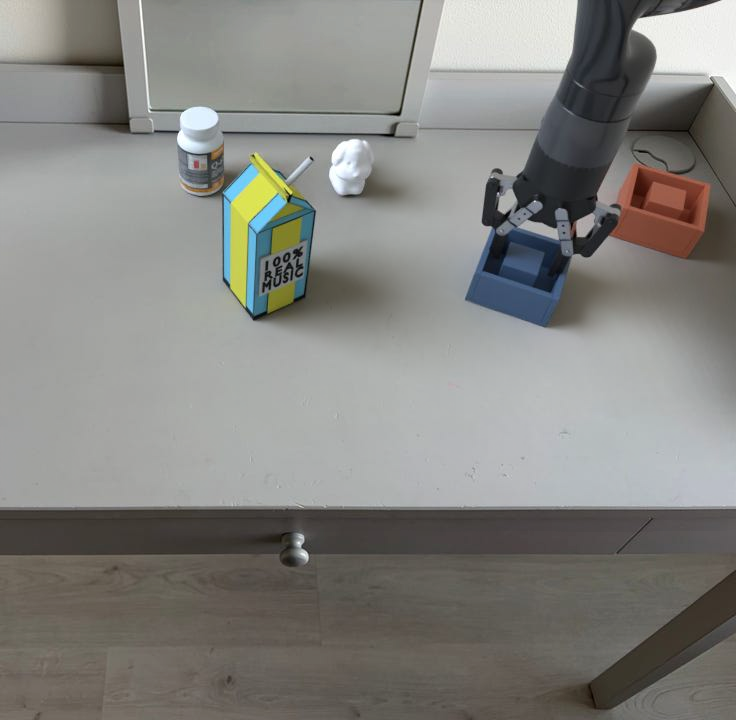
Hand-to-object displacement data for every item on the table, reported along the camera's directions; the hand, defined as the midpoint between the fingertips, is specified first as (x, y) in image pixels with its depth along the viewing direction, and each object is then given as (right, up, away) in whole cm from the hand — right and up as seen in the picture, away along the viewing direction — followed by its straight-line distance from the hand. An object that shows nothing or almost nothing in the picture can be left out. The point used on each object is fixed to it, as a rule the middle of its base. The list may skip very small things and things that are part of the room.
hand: (524, 262), depth 88 cm
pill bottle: (-38, +12, +13) cm, 41 cm away
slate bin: (0, -2, +3) cm, 4 cm away
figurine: (-19, +12, +13) cm, 26 cm away
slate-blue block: (0, -2, +3) cm, 3 cm away
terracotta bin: (+20, +6, +10) cm, 23 cm away
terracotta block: (+20, +7, +10) cm, 23 cm away
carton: (-29, -3, +2) cm, 29 cm away
